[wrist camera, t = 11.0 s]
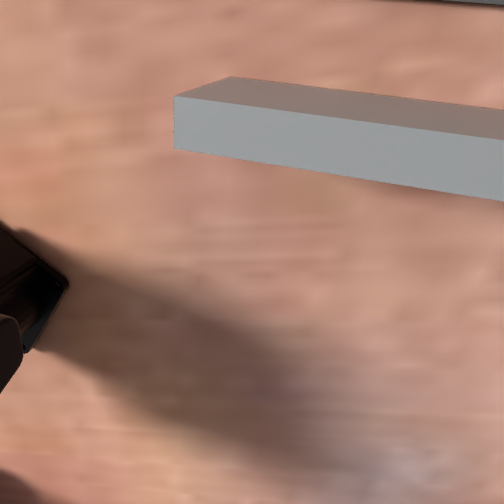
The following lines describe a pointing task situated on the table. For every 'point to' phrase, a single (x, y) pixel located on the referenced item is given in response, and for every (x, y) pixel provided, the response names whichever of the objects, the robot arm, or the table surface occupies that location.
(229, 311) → the table surface
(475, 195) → the wall
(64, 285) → the robot arm
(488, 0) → the mat
